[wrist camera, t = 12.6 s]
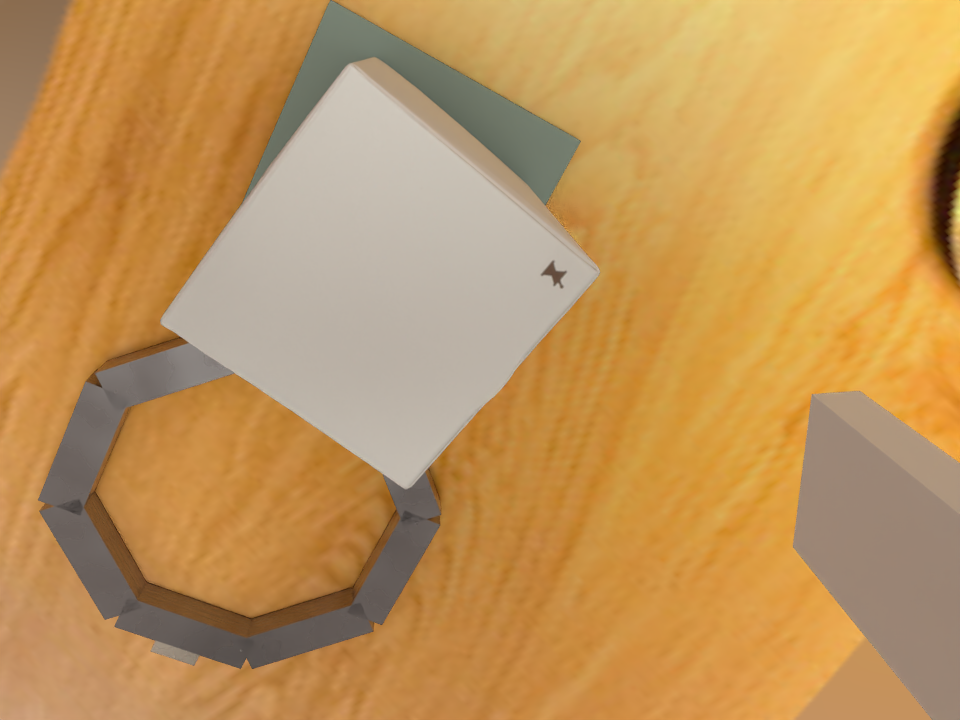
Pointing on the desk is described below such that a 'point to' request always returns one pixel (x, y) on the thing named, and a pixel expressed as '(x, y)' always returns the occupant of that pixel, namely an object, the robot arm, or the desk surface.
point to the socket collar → (178, 618)
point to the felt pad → (476, 108)
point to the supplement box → (382, 274)
